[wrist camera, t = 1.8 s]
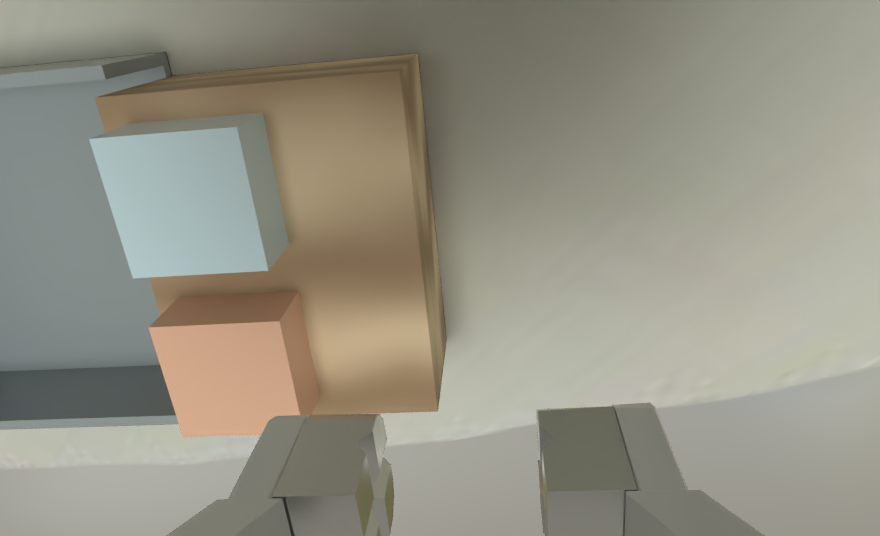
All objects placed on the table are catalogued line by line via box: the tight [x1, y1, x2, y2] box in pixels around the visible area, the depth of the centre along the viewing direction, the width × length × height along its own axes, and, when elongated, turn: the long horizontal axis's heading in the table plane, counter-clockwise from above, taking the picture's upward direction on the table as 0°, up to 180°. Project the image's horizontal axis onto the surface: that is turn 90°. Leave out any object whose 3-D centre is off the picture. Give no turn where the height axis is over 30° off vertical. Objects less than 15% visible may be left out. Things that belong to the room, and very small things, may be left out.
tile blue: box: [89, 113, 289, 278], centre depth 22 cm, size 5×5×2 cm
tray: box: [0, 52, 179, 430], centre depth 29 cm, size 16×14×5 cm
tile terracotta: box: [148, 291, 320, 437], centre depth 25 cm, size 5×5×2 cm
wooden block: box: [95, 54, 447, 415], centre depth 27 cm, size 14×11×6 cm
